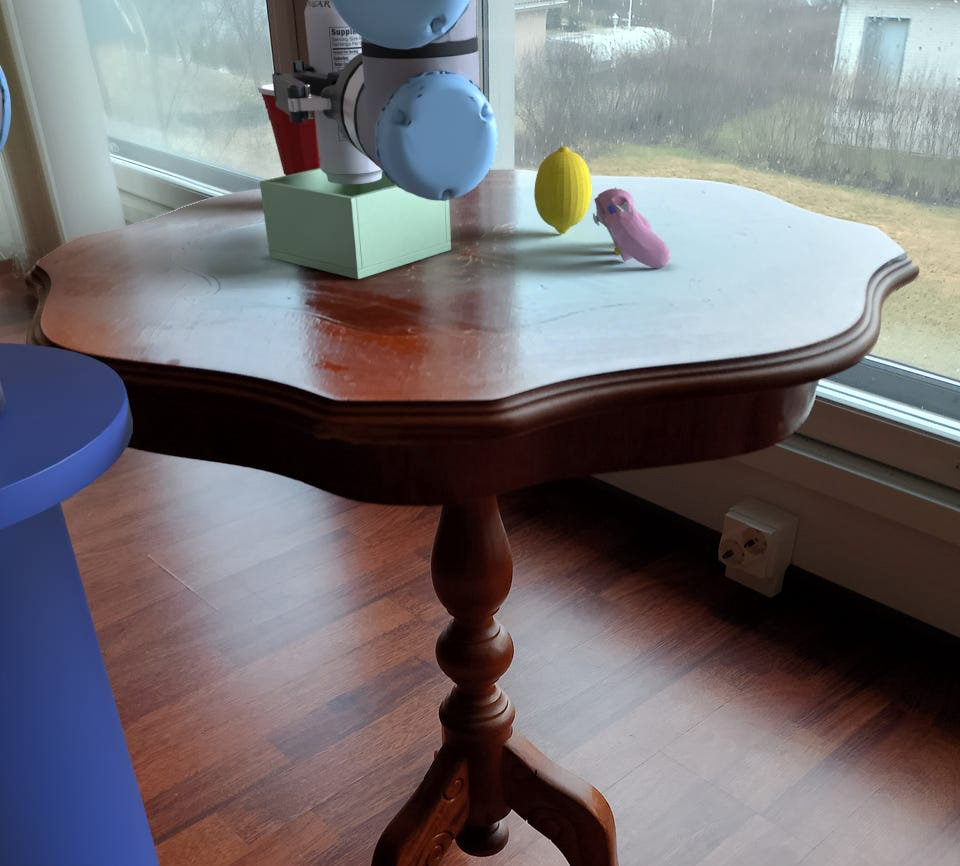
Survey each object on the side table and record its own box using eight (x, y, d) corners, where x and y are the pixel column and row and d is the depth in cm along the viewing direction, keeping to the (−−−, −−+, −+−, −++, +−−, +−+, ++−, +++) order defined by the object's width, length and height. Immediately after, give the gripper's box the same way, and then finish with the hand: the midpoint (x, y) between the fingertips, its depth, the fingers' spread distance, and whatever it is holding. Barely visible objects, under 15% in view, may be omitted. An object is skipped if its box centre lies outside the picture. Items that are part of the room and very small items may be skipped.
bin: (358, 279, 95) (350, 198, 91) (269, 257, 101) (259, 181, 97) (451, 250, 102) (448, 173, 98) (363, 231, 109) (357, 159, 105)
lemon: (601, 232, 106) (604, 144, 102) (567, 244, 103) (568, 154, 98) (557, 224, 109) (558, 139, 105) (522, 235, 106) (522, 148, 101)
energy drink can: (368, 169, 101) (353, -17, 93) (399, 179, 97) (386, -14, 89) (310, 177, 99) (290, -12, 90) (339, 188, 94) (320, -10, 86)
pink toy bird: (610, 259, 103) (580, 192, 100) (654, 235, 102) (624, 166, 99) (628, 289, 95) (595, 217, 92) (675, 263, 94) (644, 189, 91)
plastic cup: (388, 205, 118) (379, 83, 112) (300, 220, 113) (285, 94, 107) (341, 189, 126) (330, 74, 119) (256, 202, 121) (240, 84, 114)
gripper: (270, 175, 79) (237, 127, 97) (514, 153, 83) (438, 111, 102) (255, 61, 75) (223, 33, 93) (513, 44, 79) (434, 21, 97)
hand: (335, 74), depth 97 cm, fingers closed on energy drink can, 6 cm apart
